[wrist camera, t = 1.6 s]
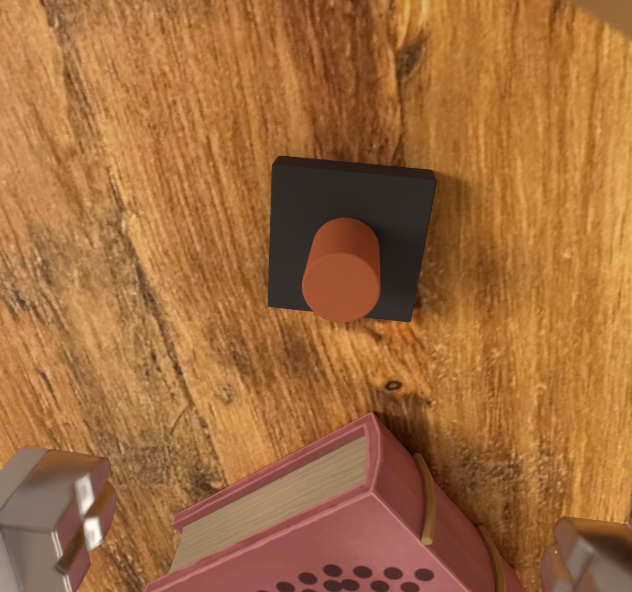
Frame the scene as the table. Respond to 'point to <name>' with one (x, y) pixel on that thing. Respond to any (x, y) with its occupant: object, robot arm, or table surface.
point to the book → (336, 527)
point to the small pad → (356, 196)
